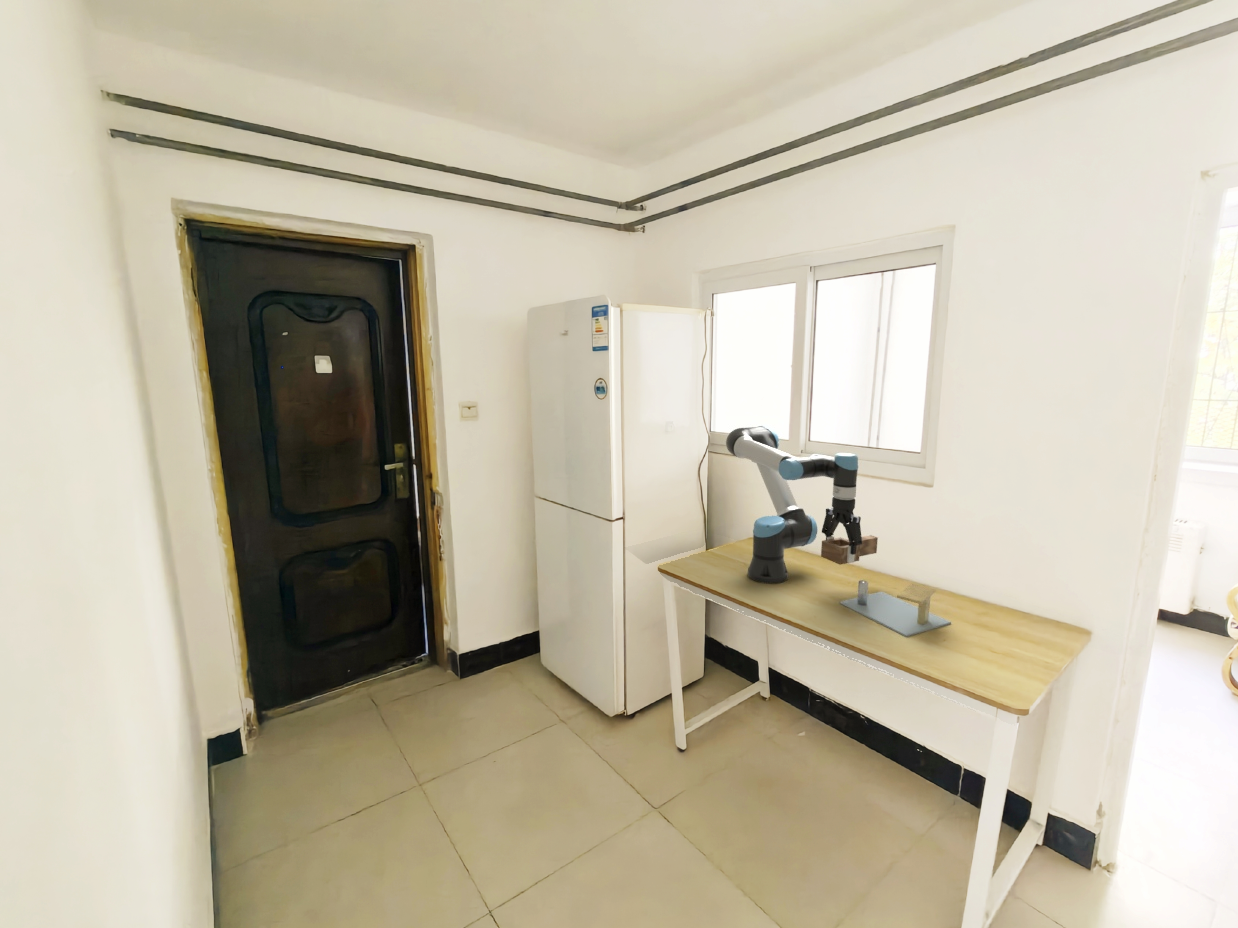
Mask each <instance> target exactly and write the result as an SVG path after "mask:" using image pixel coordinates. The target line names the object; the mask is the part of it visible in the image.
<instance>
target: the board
mask: <svg viewBox="0 0 1238 928" xmlns="http://www.w3.org/2000/svg"><path fill="white" fill-rule="evenodd" d="M857 600H858V596H857V597H853V598H849V599H845V600H840V601H839V604H841V605H842V606H845V608H846V607H847V608H848V609H850V610H851V611H854V612H855V613H858V614H860V615H862V616H864V617H866V618H869V619H870V620H872V621H874V622H876V623H878V624H879V625H882V626H884V627H886V628H888V629H890V630H892V631H894V632H895V633H898V634H899V635H902V636H904V637H907V638H908V637H910V636H914V635H918V634H919V633H923V632H927V631H931V630H934V629H937V628H940V627H945V626H947V625H948V626H949V625H951V624H952V622H951V621H950V620H947V619H946V618H942V617H941V616H939V615H936V614H934V613H932V612H930V611H929V619H928V622H927V623H926V624H925V625H922V624H919V623H917V619H918V607H919V606H916V605H914V604H911V603H910V602H906V600H903V599H900V598H897V596H896V597H895V596H894V595H891V594H888V593H886V592H884V591H878V592H873V593H868V595H867V605H866V606H862V605H859V604H857Z"/></svg>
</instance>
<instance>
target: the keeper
mask: <svg viewBox="0 0 1238 928" xmlns="http://www.w3.org/2000/svg"><path fill="white" fill-rule="evenodd" d="M935 593H936V589H934V588H932V587H926V586H924V585H919V584H914V583H910V584H909V585H908V586H907V587H905V588H904V589H903V590H902V591H901V592H899V593H898V594H897V596H896V598H898V599H900V600H903V601H908V602H911V603H915V604H918V606H917V607H918V619H917V623H919V624H922V625H925V624H926V623H927V622H928V619H929V612H930V607H931V598H932V596H933V595H934V594H935Z"/></svg>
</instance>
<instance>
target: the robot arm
mask: <svg viewBox="0 0 1238 928" xmlns="http://www.w3.org/2000/svg"><path fill="white" fill-rule="evenodd" d="M725 440H726V441H725V446H726V448H727V451H728V452H729V453H730V455H733V456H734V457H737V458H740V459H747V460H750V461H751V462H753V463H755V464H756V466H757V468H758V470H759V473H760V475H761V478H762V480H763V482H764V483H763V484H764V485H765V487H766V490H767V492H768V495H769V497H770V499H771V502H772V504H773V507H774V509H775V512H776V515H766V516H761V517H758V518H757V519H756V520H754V523H753V530H752V532H753V533H752V537H753V538H752V539H753V540H752V557H751V558H752V559H751V560H750V564H749V566H748V567H747V577H748V578H749V579H750V580H752V581H755V582H757V583H762V584H774V585H775V584H780V583H784V582H786V581H787V580H788V577H789V576H788V569H787V566H786V563H785V562H786V561H785V559H784V557H785V550H786V549H792V548H798V547H804V546H807V545H810V544H812V543H813V542H814V541H815V540H816V538H817V535H818V525H817V522H816V520H815V519H814V517H812V516H811V515H809V514H806V513H805V512H806V511H805V510H804V508H802V507H800V506H798V504H797V501H796V499H795V496H794V494H793V492H792V490H791V488H790V485H789V483H788V481H796V480H802V479H809V478H810V479H811V478H817V477H818V478H819V477H827V478H830V479H832V481H833V483H832V485H833V486H832V496H833V497H832V498H831V507H828V508H825V517H824V521H823V525H822V529H821V533H822V534H824V536H825V540H829V539H834V538H835V535H834V533H835V531H836V529H837V528H838V526H839V523H840V524H842V525H843V527H844V529H845V532H846V535H847V540H848V539H849V543H850V545H848V552H847V563H846V564H851V563H854V557H855V554H856V549H857V545H862V537H863V536H862V529H861V519H862V518H861V516H856V515H855V514H854V509H856V508H855V507H856V499H855V498H856V496H857V495H856V494H857V478H858V471H859V470H858V469H859V457H858V455H857V454H856V453H855V454H854V453H847V452H839V453H836V454H835V456H830V455H825V454H821V453H813V454H812V455H810V456H805V457H797V456H794V455H792V454H790V453H786V452H784V451H781V450H779V449H778V448H779V445H780V443H779V442H780V439H779V436H778V434H777V432H776V431H775V430H774V429H773V428H772V427H769V426H763V425H761V426H755V427H753V426H752V427H739V428H735V429H733V430H732V431H730V432H729V434H728V435H727V437H726V439H725ZM853 541H854V542H853Z"/></svg>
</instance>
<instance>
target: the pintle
mask: <svg viewBox="0 0 1238 928" xmlns="http://www.w3.org/2000/svg"><path fill="white" fill-rule="evenodd" d="M867 595H869V581H867V580H864V579H863V580H861V579H860V580H858V587H857V597H858V600H857V604H859V605H862V606H866V605H867Z"/></svg>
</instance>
